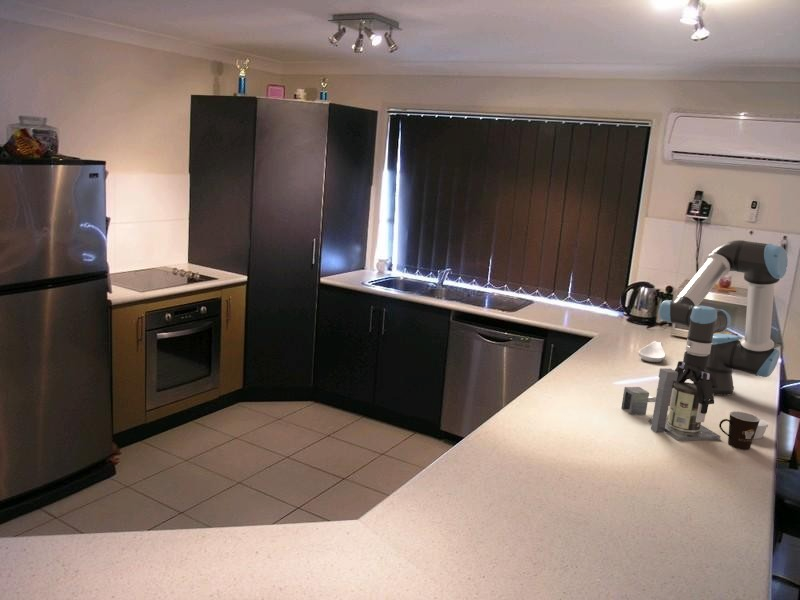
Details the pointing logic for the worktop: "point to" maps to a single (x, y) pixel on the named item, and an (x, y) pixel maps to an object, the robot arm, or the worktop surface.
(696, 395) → the coffee can
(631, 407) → the press
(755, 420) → the coffee mug
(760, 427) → the ramekin
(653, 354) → the spoon rest
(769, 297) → the robot arm
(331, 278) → the worktop surface
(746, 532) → the worktop surface
